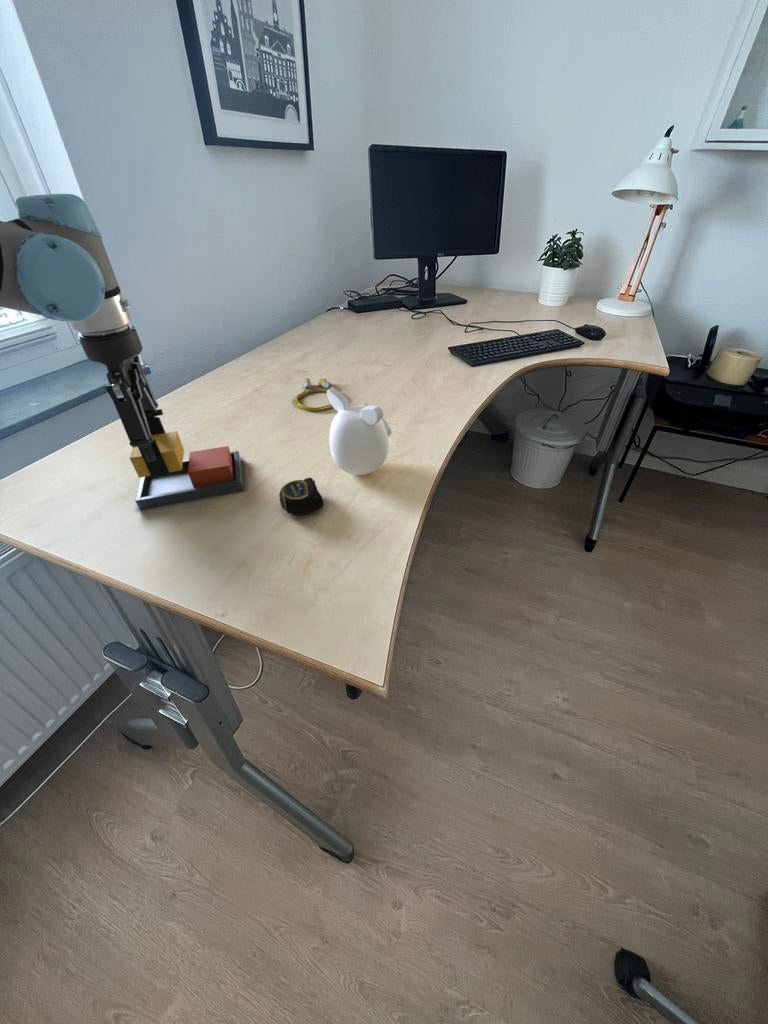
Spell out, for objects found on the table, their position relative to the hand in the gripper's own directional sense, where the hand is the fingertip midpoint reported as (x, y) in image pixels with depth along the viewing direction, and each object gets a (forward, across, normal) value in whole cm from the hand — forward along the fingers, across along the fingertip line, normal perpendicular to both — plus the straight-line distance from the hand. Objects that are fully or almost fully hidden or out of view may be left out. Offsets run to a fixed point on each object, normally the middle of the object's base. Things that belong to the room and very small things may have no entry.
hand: (162, 461), depth 77 cm
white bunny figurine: (+6, -5, -35) cm, 36 cm away
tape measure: (+6, -13, -23) cm, 27 cm away
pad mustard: (0, 0, 0) cm, 0 cm away
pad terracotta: (+5, 0, -8) cm, 9 cm away
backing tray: (+5, 0, -4) cm, 7 cm away
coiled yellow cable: (+6, +28, -33) cm, 43 cm away
